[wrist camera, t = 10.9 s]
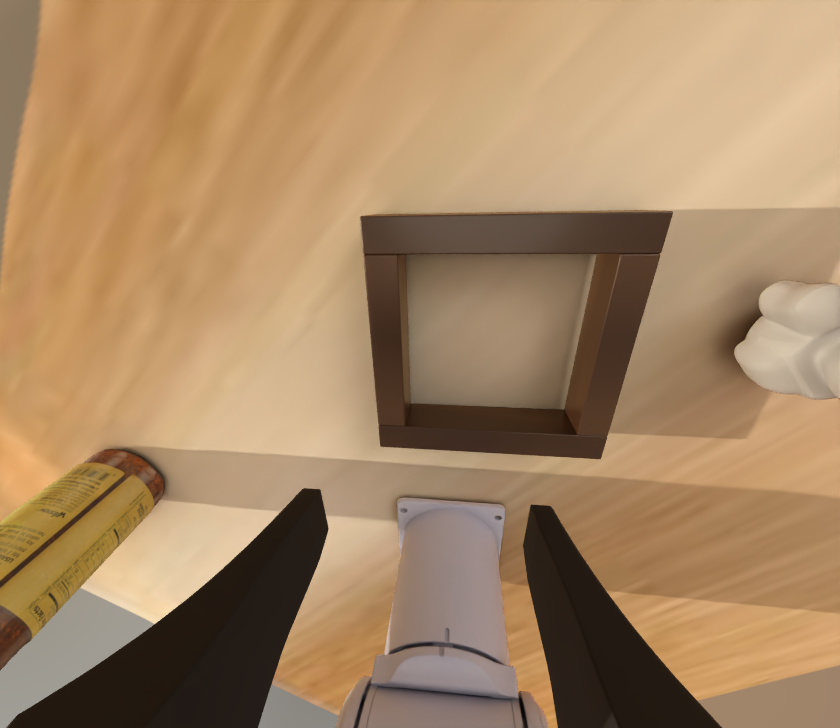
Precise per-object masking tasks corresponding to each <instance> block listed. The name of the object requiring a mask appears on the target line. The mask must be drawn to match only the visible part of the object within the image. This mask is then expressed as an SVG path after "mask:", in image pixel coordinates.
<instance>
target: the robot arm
mask: <svg viewBox="0 0 840 728" xmlns="http://www.w3.org/2000/svg"><path fill="white" fill-rule="evenodd" d="M404 508H405V509H404ZM397 513H398V528H399V543H400V561H399V567H398V574H397V580H396V586H395V592H394V598H393V604H392V610H391V616H390V622H389V628H388V634H387V640H386V647H385V653H384V655H376V657H375V662H374V667H373V673H372V677H369V676H364V677H362V678H361V679H360V680H359V681H358V682H357V684H356V685H355V687H354V688H353V689H352V690H351V692H350V693H349V694H348V696H347V698H346V699H345V701H344V704H343V706H342V709H341V711H340V714H339V717H338V720H337V724H336V727H335V728H549V726H548V723H547V719H546V717H545V714H544V712H543V710H542V709H541V708H540V706H539V705H538V704H537V703H536V702H535V700H534V698H533V696H532V695H531V693H529V692H524V691H520V692H519V694H518V687H517V679H516V671H515V668H514V667H513V666H510V661H509V652H508V644H507V635H506V626H505V617H504V608H503V599H502V590H501V581H500V572H499V556H500V549H501V542H502V535H503V528H504V521H505V514H506V513H505V507H504V506H503V505H500V504H489V503H475V502H462V501H448V500H434V499H420V498H407V497H402V498H399V499H398V502H397ZM497 515H499V516H497ZM327 533H328V524H327V519H326V514H325V510H324V505H323V500H322V495H321V490H320V489H307V488H304V489H302V490H301V491H300V492H299V493H298V494H297V495H296V496H295V498H294V499H293V500H292V501H291V502H290V503H289V504H288V505H287V506H286V507H285V508H284V509H283V510H282V511H281V512H280V513H279V514H278V515H277V516H276V518H275V519H274V520H273V521H272V522H271V523H270V524H269V525H268V526H267V527H266V528H265V529H264V530H263V531H262V532H261V533H260V534H259V535H258V536H257V537H256V538H255V539H254V540H253V541H252V542H251V543H250V544H249V545H248V546H247V547H246V548H245V549H244V550H242V551H241V552H240V553H239V554H238V555H237V556H236V557H235V558H234V559H233V560H232V561H231V562H230V563H228V564H227V565H226V566H225V567H224V568H223V569H222V570H221V571H220V572H219V573H217V574H216V575H215V576H214V577H213V578H212V579H211V580H209V581H208V582H207V583H206V584H205V585H204V586H202V587H201V588H200V589H199V590H198V591H196V592H195V593H194V594H193V595H192V596H190V597H189V598H188V599H187V600H186V601H184V602H183V603H182V604H180V605H179V606H178V607H177V608H175V609H174V610H173V611H171V612H170V613H169V614H168V615H166V616H165V617H164V618H162V619H161V620H160V621H158V622H157V623H156V624H154V625H153V626H152V627H151V628H149V629H148V630H146V631H145V632H144V633H142V634H141V635H140V636H138V637H137V638H135V639H134V640H132V641H131V642H130V643H128V644H127V645H125V646H124V647H122V648H121V649H119V650H118V651H117V652H115V653H114V654H112V655H111V656H109V657H108V658H107V659H105V660H104V661H102V662H101V663H99V664H98V665H96V666H95V667H93V668H92V669H90V670H89V671H87V672H86V673H84V674H83V675H81V676H80V677H78V678H76V679H75V680H73V681H72V682H70V683H68V684H67V685H65V686H64V687H62V688H61V689H59V690H57V691H56V692H54V693H52V694H51V695H49V696H48V697H46V698H44V699H43V700H41V701H40V702H38V703H37V704H35V705H33V706H32V707H30V708H28V709H27V710H25V711H23V712H22V713H20V714H18V715H17V716H16V717H15V719H14V720H13V721H12V722H11V723H10V724H9V725H8V726H7V727H6V728H258V725H259V722H260V719H261V716H262V712H263V709H264V706H265V703H266V699H267V696H268V693H269V690H270V687H271V684H272V681H273V678H274V675H275V672H276V669H277V666H278V662H279V659H280V656H281V653H282V650H283V648H284V645H285V642H286V640H287V637H288V635H289V632H290V630H291V627H292V625H293V623H294V620H295V618H296V615H297V613H298V611H299V608H300V606H301V603H302V601H303V599H304V596H305V594H306V591H307V589H308V587H309V584H310V582H311V579H312V577H313V575H314V572H315V570H316V567H317V565H318V562H319V560H320V556H321V553H322V550H323V547H324V543H325V540H326V536H327ZM523 547H524V556H525V564H526V571H527V578H528V583H529V588H530V592H531V597H532V601H533V605H534V610H535V614H536V618H537V623H538V627H539V631H540V635H541V640H542V644H543V648H544V653H545V657H546V661H547V666H548V671H549V676H550V681H551V686H552V692H553V699H554V705H555V712H556V718H557V724H558V728H722V727H721V726H720V725H719V724H718V723H717V722H716V721H715V720H714V719H713V717H712V716H711V715H710V714H709V713H708V712H707V711H706V710H705V709H704V708H703V707H702V706H701V704H700V703H698V701H697V700H696V699H695V698H694V697H693V696H692V695H691V694H690V693H689V691H688V690H687V689H686V688H685V687H684V686H683V685H682V684H681V683H680V682H679V681H678V679H677V678H676V677H675V676H674V675H673V674H672V673H671V671H670V670H669V669H668V668H667V667H666V666H665V664H664V663H663V662H662V661H661V660H660V659H659V657H658V656H657V655H656V654H655V653H654V652H653V650H652V649H651V648H650V647H649V646H648V644H647V643H646V642H645V641H644V639H643V638H642V637H641V636H640V635H639V633H638V632H637V631H636V630H635V628H634V627H633V626H632V625H631V623H630V622H629V621H628V619H627V618H626V617H625V616H624V614H623V613H622V612H621V610H620V609H619V608H618V606H617V605H616V604H615V602H614V601H613V600H612V598H611V597H610V596H609V594H608V593H607V592H606V590H605V589H604V587H603V586H602V585H601V583H600V582H599V580H598V579H597V578H596V576H595V575H594V573H593V572H592V570H591V569H590V567H589V566H588V564H587V563H586V561H585V560H584V559H583V557H582V556H581V554H580V552H579V551H578V549H577V548H576V546H575V545H574V543H573V542H572V540H571V538H570V537H569V535H568V534H567V532H566V530H565V529H564V527H563V525H562V524H561V522H560V520H559V519H558V517H557V515H556V513H555V512H554V510H553V508H552V507H551V506H543V505H531V507H530V512H529V517H528V523H527V528H526V533H525V539H524V544H523Z"/></svg>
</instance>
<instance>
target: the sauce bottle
mask: <svg viewBox="0 0 840 728" xmlns="http://www.w3.org/2000/svg"><path fill="white" fill-rule="evenodd" d="M163 491H164V482H163V477H162V476H161V475H160V474H159V473H158V472H157V471H156V470H155V469H154V468H153V467H152V466H151V465H150V464H149V463H148V462H147V461H146V460H145V459H143V458H141V457H139V456H137V455H135V454H133V453H130V452H126V451H124V450H118V449H116V450H115V449H110V450H104V451H101V452H99V453H97V454H95V455H93V456H92V457H90V458H89V459H88V460H87V461H85V462H84V463H82V464H79V465H76V466H75V467H74V468H72V469H71V470H70V471H68V472H67V473H65V474H64V475H63V476H61V477H60V478H59V479H57V480H56V481H55V482H53V483H52V484H51V485H49V486H48V487H46V488H45V489H44V490H42V491H41V492H40V493H38V494H37V495H36V496H34V497H33V498H31V499H30V500H29V501H27V502H26V503H24V504H23V505H22V506H20V507H19V508H17V509H16V510H15V511H13V512H12V513H11V514H9V515H8V516H7V517H5V518H4V519H3V520H1V521H0V670H1V669H2V668H3V667H4V666H5V665H6V664H7V662H8V661H9V660H10V659H11V658H12V657H13V656H14V655H15V654H16V653H17V652H18V651H19V650H20V649H21V648H22V647H23V646H24V645H25V644H27V643H28V642H30V641H31V639H32V638H33V637H34V636H35V635H36V634H37V633H38V632H39V631H40V630H41V629H42V628H43V627H44V625H45V624H46V623H47V622H48V621H49V620H50V619H51V618H52V617H53V616H54V615H55V613H57V612H58V610H59V609H60V608H61V607H62V606H63V605H64V604H65V603H66V602H67V601H68V599H70V597H71V596H72V595H73V594H74V593H75V592H76V591H77V590H78V589H79V588H80V587H81V586H82V585H83V584H84V582H85V581H86V580H87V579H88V578H89V577H90V576H91V575H92V574H93V573H94V572H95V571H96V570H97V569H98V568H99V566H100V565H101V564H102V563H103V562H104V561H105V560H106V559H107V558H108V557H109V556H110V555H111V554H112V553H113V551H114V550H115V549H116V548H117V547H118V546H119V545H120V544H121V543H122V542H123V541H124V540H125V539H126V538H127V537H128V535H129V534H130V533H131V532H132V531H133V530H134V529H135V528H136V527H137V526H138V525H139V524H140V523H141V522H142V521H143V520H144V518H145V517H146V516H147V515H148V514H149V513H150V512H151V511H152V509H153V507H154V506H155V505H156V504H157V503H158V501H159V500H160V498H161V496H162V494H163Z"/></svg>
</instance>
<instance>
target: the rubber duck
mask: <svg viewBox="0 0 840 728" xmlns="http://www.w3.org/2000/svg"><path fill="white" fill-rule="evenodd" d="M759 308H760V311H761V313H762V314H763V316H761V317H760V318H759V319H758V320H757V321H756V322H755V323H754V325H753V326H752V327H751V329H750V330H749V332H748V334H747V336H746V338H745V340H744V341H742V342H741V343H739V344H738V345H737V346H736V347H735V350H734V354H735V358H736V360H737V362H738V363H739V365H740V366H741V368H742V369H743V371H744V372H745V373H746V375H747V376H748V377H749V378H750V379H751V380H753V381H754V382H755V383H757V384H758V385H759V386H761V387H762V388H764V389H767V390H769V391H772V392H776V393H781V394H797V395H800V396H803V397H806V398H809V399H815V400H824V399H832V398H839V399H840V285H838V284H833V283H820V284H807V283H802V282H797V281H789V280H782V281H778V282H776V283H774V284H773V285H771V286H769V287H768V288H766V289H765V290H764V291H763V292H762V294H761V295H760V298H759Z"/></svg>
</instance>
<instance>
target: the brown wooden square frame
mask: <svg viewBox="0 0 840 728" xmlns="http://www.w3.org/2000/svg"><path fill="white" fill-rule="evenodd" d="M672 214H673V212H672V211H649V210H624V211H561V212H498V213H436V214H374V215H366V216H361V217H360V223H361V234H362V246H363V254H365V255H364V267H365V278H366V289H367V301H368V312H369V323H370V334H371V346H372V357H373V368H374V379H375V391H376V402H377V413H378V424H379V437H380V446H381V447H398V448H415V449H433V450H450V451H467V452H485V453H502V454H520V455H537V456H555V457H572V458H589V459H601V457H602V453H603V450H604V446H605V443H606V439H607V436H608V432H609V429H610V425H611V422H612V419H613V415H614V412H615V408H616V405H617V402H618V398H619V395H620V391H621V388H622V384H623V381H624V378H625V374H626V371H627V367H628V364H629V361H630V357H631V354H632V350H633V347H634V343H635V340H636V337H637V333H638V330H639V326H640V323H641V320H642V316H643V313H644V309H645V306H646V302H647V299H648V296H649V292H650V289H651V285H652V282H653V279H654V275H655V272H656V268H657V265H658V261H659V258H660V254H659V253H661V252H662V248H663V245H664V241H665V238H666V235H667V231H668V228H669V224H670V221H671V217H672ZM406 254H597V258H596V263H595V268H594V272H593V277H592V282H591V287H590V291H589V296H588V301H587V305H586V310H585V315H584V320H583V324H582V329H581V334H580V339H579V343H578V348H577V353H576V357H575V362H574V367H573V372H572V376H571V381H570V386H569V391H568V395H567V400H566V405H565V410H548V409H525V408H502V407H479V406H456V405H433V404H411V395H410V366H409V337H408V308H407V279H406Z"/></svg>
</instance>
